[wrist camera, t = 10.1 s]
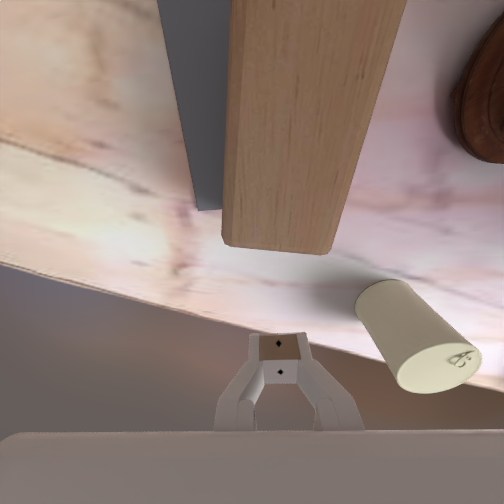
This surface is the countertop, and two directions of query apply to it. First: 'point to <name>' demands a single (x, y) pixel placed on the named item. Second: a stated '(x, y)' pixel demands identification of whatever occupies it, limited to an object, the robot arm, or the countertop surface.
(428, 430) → the robot arm
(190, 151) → the mat
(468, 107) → the wooden spool stand
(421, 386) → the can
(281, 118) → the block
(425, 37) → the countertop surface
